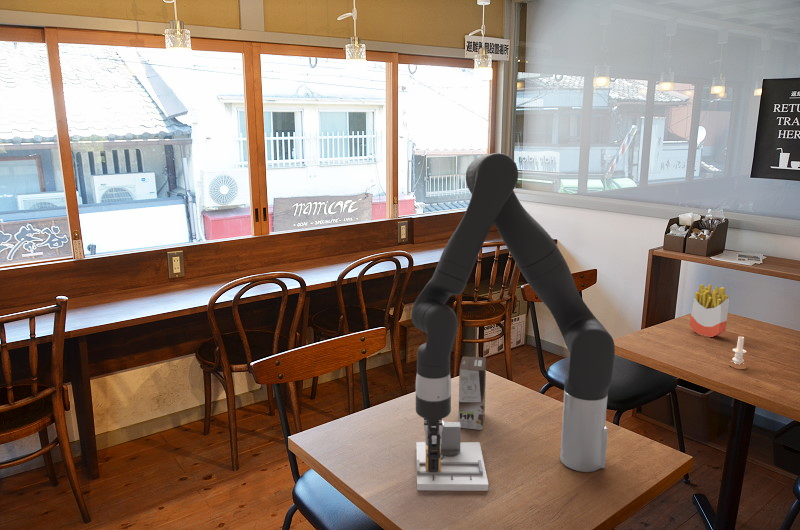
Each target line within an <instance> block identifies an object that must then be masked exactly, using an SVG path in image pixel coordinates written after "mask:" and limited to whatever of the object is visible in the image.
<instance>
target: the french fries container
mask: <svg viewBox="0 0 800 530" xmlns="http://www.w3.org/2000/svg"><path fill="white" fill-rule="evenodd" d="M692 303H693V304H692V308H691V312H690V313H691V314H690V322H689V326H690V328H691V329H692V330H693V331H694V332H696V333H699V334H703V335H707V336H710V337H712V338H715V337H718V336H719V335H721V334H723V333H725V332H726V329H727V320H728V314H729V313H728V312H729V304H730V297H729V295H728V294H726V288H725V287H719V286H715V289H712V284H707V286H705V284H699V285H698V291H696V292H694V298H693V302H692ZM696 333H695V334H696ZM699 334H698V335H699ZM703 335H702V336H703ZM714 336H715V337H714Z"/></svg>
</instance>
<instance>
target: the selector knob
mask: <svg viewBox="0 0 800 530" xmlns="http://www.w3.org/2000/svg"><path fill="white" fill-rule="evenodd" d="M442 423H443V431H442V444H441V445H440V447H441V454H442V455H445V456H455V455H457V454H459V453H460V442H461V437H462V435H461V431H462V428H461V426H460V422H458V421H444V420H442Z"/></svg>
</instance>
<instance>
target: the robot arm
mask: <svg viewBox="0 0 800 530" xmlns="http://www.w3.org/2000/svg"><path fill="white" fill-rule="evenodd" d="M518 180H519V170H518V166H517V163H516V162H515V160H514V159H513V158H512V157H511V156H509V155H507V154H505V153H501V152H496V153H495V152H493V153H489V154H486V155H485V154H484V155H482V156H480V157H478V158H475V159H473V160H472V161H471V162H470V163H469V165H468V166H467V168H466V171H465V181H466V182H465V183H466V187H467V189H468V190H469V192H470V193H471V198H470V199H469V203H468V205H467V208H466V210H465V212H464V215H463V216H462V218H461V221H460V222H459V224H458V225H457V227H456V228H455V230H454V232H453V233H452V235H451V236H450V237H449V240H448V241H447V243H446V245H445V247H444V249H443V251H442V253H441V255H440V258H439V260H438V263H437V264H436V267H435V270H434V272H433V274H432V277H431V278H430V279H429V280H428V282H427V283H426V284H425V286H424V288H423V289H422V290H421V292H420V293H419V295H418V296H417V297H416V299H415V301H414V303H413V306H412V308H411V315H410V316H411V317H410V318H411V322H412V324H413V325H414V327H415V328H417V329H418V330H419V331H421V332H423V333H425V334H426V336H427V337H426V342H424V343H423V344H421V345H419V347H418V348H417V351H416V377H415V412H416V414H417V416H419V417H421V418H423V430H424V433H425V434H424V436H425V438H424V439H425V441H424V442H425V444H426V445H427V446H428V453H427V457H428V471H429V472H438V470H439V459H440V445H441V444H442V431H443V423H442V421H443V419H445V418H447V417H448V416H450V414H451V411H452V378H451V354H452V351H453V347H454V344H455V340H456V337H457V332H458V325H459V324H458V317H457V314H456V312H455V310H454V309H453V308H452V307H451V306H449V305H447V304H446V303H447V302H448V300H449V299H450V297H451V296H458V295H461V294H462V293H463V291H464V290H465V288H466V286H467V283H468V280H469V279H470V276H471V274H472V273H473V268H474V266H475V264H476V261H477V259H478V256H479V254H480V252H481V249H482V247H483V245H484V243H485V241H486V239H487V237H488V235H489V233H490V231H491V229H492V227H493V225H494V226H495V228H496V229H497V232H498V233H499V236H500V237H501V239H502V241H503V243H504V245H505V246H506V248H507V250H508V252H509V254H510V255H511V257H512V258H513V261H514V262H515V264H516V266H517V268H518V269H519V270H520V273H521V274H522V277H523V278H524V279H525V280H526V282H527V283H528V285H529V287H530V288H531V289H532V291H534V293H535V294H536V296H537V297H538V298H539V300H541V301H542V303H543V304H545V305H544V306H546V307H547V309H548V310H549V313H551V315H552V317H553V318H554V321H555V322H556V324H557V327H558V329H559V331H560V334H561V335H562V337H563V341H564V344H565V345H566V348H567V350H568V351H569V368H568V375H566V376H565V378H564V386H563V387H564V389H563V404H562V418H561V419H562V421H561V423H562V424H561V438H560V451H559V452H560V455H559V461H560V462H561V464H563V465H564V466H565V467H567V468H568V469H571V470H572V471H573V470H574V471H577V472H583V473H589V472H590V473H591V472H595V471H597V470H600V469H606V461H607V460H606V459H607V450H608V449H607V448H608V435H609V434H608V433H609V430H608V429H609V428H608V427H607V426H606V422H607V421H606V420H607V408H608V407H607V406H608V405H607V404H608V396H609V395H608V394H609V388H610V386H611V384H612V380H613V373H614V365H615V356H616V353H615V350H616V349H615V347H616V346H615V342H614V341H615V340H614V339H613V337H612V335H611V334H610V333H609V331H608V330H607V329H606V327H604V324H602V322H600V321H599V319H598V318H597V317H596V316H595V315H594V314H593V312H592V311H591V309H590V308H589V307H588V305H587V303H585V301H584V300H583V298H582V296H581V295H580V293H579V291H578V289H577V286H576V283H575V279H574V277H573V275H572V272H571V270H570V267H569V266H568V263H567V261H566V259H565V257H564V256H563V254H562V252H561V251H560V249H559V247H558V245H557V244H556V242H555V241H554V239H553V238H552V237H551V235H550V234H549V233H548V232H547V231H546V230H545V228H544V227H543V226H542V225H541V224H540V223H539V222H538V221H537V220H536V219H535V218H534V217H533V216H532V215H531V214H530V213H529V212H528V211H527V210H526V209H525V208H524V206H523V204H521V202H520V201H519V199H518V196H517V195H516V193H515V191H514V190H515V187H516V186H517V183H518V182H519V181H518ZM431 450H437V451H431Z"/></svg>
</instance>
